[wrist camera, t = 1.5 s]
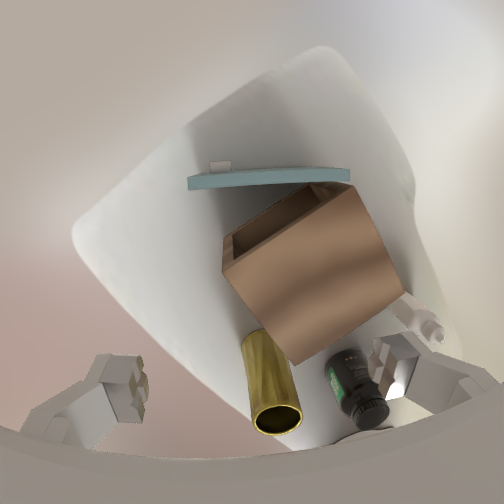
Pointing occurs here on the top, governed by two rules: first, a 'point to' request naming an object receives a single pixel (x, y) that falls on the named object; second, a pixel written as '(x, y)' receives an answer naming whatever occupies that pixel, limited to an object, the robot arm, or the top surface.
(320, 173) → the door
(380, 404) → the supplement bottle
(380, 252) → the cabinet box
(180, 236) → the top surface
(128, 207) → the top surface
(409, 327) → the eye dropper bottle
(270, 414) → the vase
